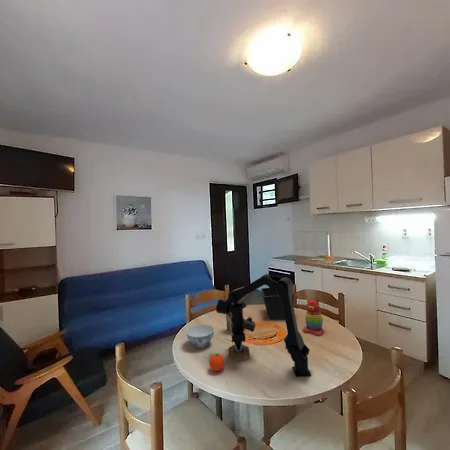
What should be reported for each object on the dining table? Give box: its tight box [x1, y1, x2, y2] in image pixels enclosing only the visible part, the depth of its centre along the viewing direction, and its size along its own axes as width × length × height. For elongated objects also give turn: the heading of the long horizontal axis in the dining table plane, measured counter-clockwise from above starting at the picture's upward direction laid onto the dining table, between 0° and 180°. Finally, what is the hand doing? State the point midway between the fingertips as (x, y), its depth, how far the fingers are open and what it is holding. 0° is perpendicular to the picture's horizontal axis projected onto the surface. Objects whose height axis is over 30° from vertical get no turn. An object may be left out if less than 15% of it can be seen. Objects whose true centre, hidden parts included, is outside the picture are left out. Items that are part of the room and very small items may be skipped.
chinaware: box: [185, 324, 215, 348], centre depth 138 cm, size 15×15×8 cm
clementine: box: [208, 352, 226, 372], centre depth 115 cm, size 8×7×7 cm
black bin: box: [261, 287, 295, 320], centre depth 172 cm, size 19×19×17 cm
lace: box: [225, 337, 235, 346], centre depth 137 cm, size 15×3×1 cm, turn 20°
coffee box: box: [225, 303, 233, 335], centre depth 152 cm, size 9×6×16 cm
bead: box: [227, 343, 251, 363], centre depth 125 cm, size 10×10×3 cm
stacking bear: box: [302, 299, 324, 337], centre depth 147 cm, size 11×10×18 cm
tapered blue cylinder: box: [235, 342, 243, 353], centre depth 125 cm, size 4×4×9 cm
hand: (238, 347), depth 125 cm, fingers closed on tapered blue cylinder, 4 cm apart
